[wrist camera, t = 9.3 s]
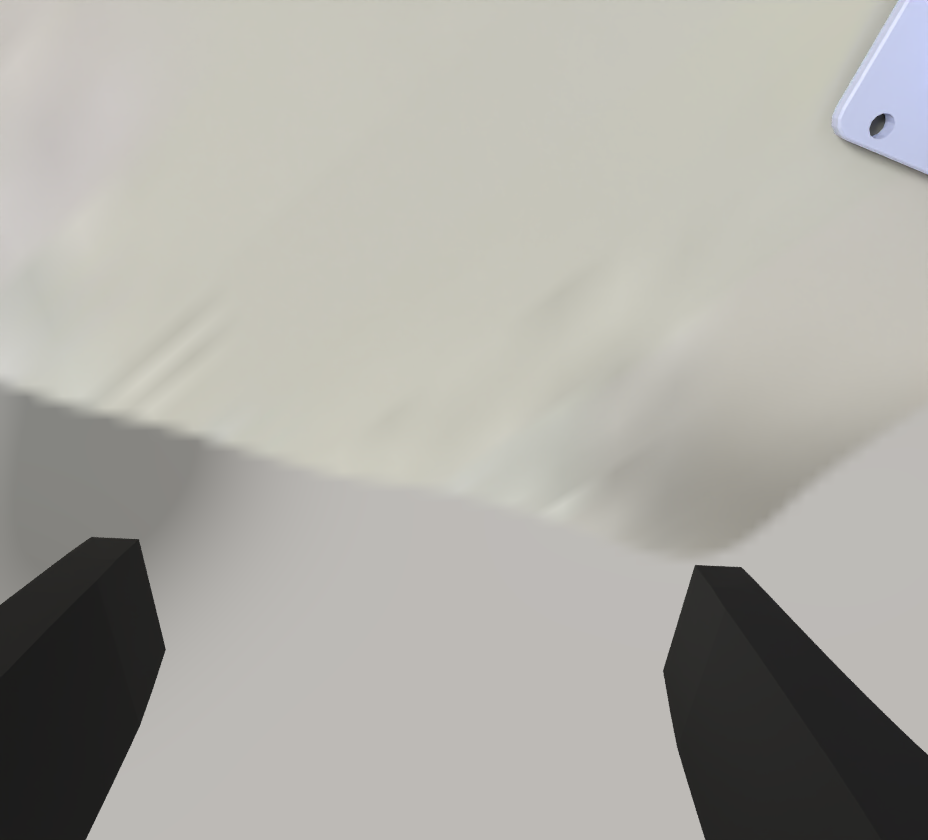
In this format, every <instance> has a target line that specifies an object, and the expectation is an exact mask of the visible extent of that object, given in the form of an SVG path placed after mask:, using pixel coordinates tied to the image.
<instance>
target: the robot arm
mask: <svg viewBox="0 0 928 840" xmlns="http://www.w3.org/2000/svg"><path fill="white" fill-rule="evenodd" d="M880 114H884V115H885V120H886V122H885V124H884V127H883V129H882V130H881V131H880V132H879V133H878V134H876V135H873V136H871V135H870V132H869V127H870V125H871V122H872V121H873V120H874V119H875V117H876V116H878V115H880ZM832 128H833V130H834V132H835V134H836V135H838V136H839V137H840V138H842V139H844V140H847V141H849V142H851V143H854V144H856V145H858V146H861V147H863V148H866V149H868V150H870V151H873V152H875V153H878V154H880V155H882V156H885V157H887V158H889V159H892V160H894V161H897V162H899V163H901V164H904V165H906V166H908V167H911V168H913V169H916V170H918V171H920V172H923V173H925V174H928V0H898V2H897V4H896V5H895V7H894V9H893V10H892V12H891V14H890V16H889V17H888V19H887V21H886V22H885V24H884V26H883V27H882V29H881V31H880V33H879V34H878V36H877V38H876V39H875V41H874V43H873V45H872V46H871V48H870V50H869V51H868V53H867V55H866V57H865V58H864V60H863V62H862V63H861V65H860V67H859V69H858V70H857V72H856V74H855V75H854V77H853V79H852V80H851V82H850V84H849V86H848V87H847V89H846V91H845V92H844V94H843V96H842V98H841V99H840V101H839V103H838V104H837V106H836V108H835V111H834V113H833V116H832ZM165 650H166V649H165V645H164V641H163V637H162V632H161V628H160V624H159V620H158V616H157V613H156V608H155V604H154V600H153V596H152V592H151V588H150V583H149V580H148V576H147V571H146V567H145V563H144V559H143V555H142V551H141V546H140V543H139V539H120V538H98V537H91V538H89V539H88V540H86V541H85V542H84V543H82V544H81V545H79V546H78V547H77V548H75V549H74V550H72V551H71V552H70V553H68V554H67V555H66V556H64V557H63V558H61V559H60V560H59V561H57V562H56V563H55V564H54V565H52V566H51V567H49V568H48V569H47V570H46V571H44V572H43V573H42V574H40V575H39V576H38V577H36V578H35V579H34V580H32V581H31V582H30V583H29V584H27V585H26V586H24V587H23V588H22V589H21V590H19V591H18V592H17V593H15V594H14V595H13V596H11V597H10V598H9V599H7V600H6V601H5V602H3V603H2V604H1V605H0V840H86V838H87V836H88V834H89V832H90V829H91V828H92V825H93V823H94V821H95V819H96V817H97V815H98V813H99V811H100V809H101V807H102V805H103V803H104V801H105V799H106V796H107V794H108V792H109V790H110V788H111V786H112V784H113V782H114V780H115V778H116V775H117V773H118V771H119V769H120V767H121V765H122V763H123V761H124V759H125V757H126V754H127V752H128V750H129V748H130V746H131V744H132V742H133V739H134V737H135V735H136V733H137V731H138V728H139V726H140V724H141V721H142V718H143V715H144V712H145V710H146V707H147V704H148V701H149V698H150V696H151V693H152V689H153V687H154V684H155V680H156V678H157V675H158V671H159V668H160V665H161V662H162V659H163V656H164V653H165ZM663 672H664V678H665V684H666V689H667V696H668V701H669V707H670V713H671V718H672V723H673V728H674V733H675V738H676V743H677V748H678V751H679V755H680V758H681V761H682V765H683V768H684V772H685V775H686V778H687V782H688V785H689V788H690V791H691V795H692V798H693V801H694V805H695V808H696V811H697V814H698V818H699V821H700V824H701V827H702V830H703V834H704V837H705V840H928V755H927V754H926V753H925V752H924V751H923V750H922V749H921V748H920V747H919V746H918V745H916V744H915V743H914V742H913V741H912V740H911V739H910V738H909V737H908V736H907V735H906V734H905V733H904V732H903V731H902V730H901V729H900V728H899V727H898V726H897V725H896V724H895V723H894V722H892V721H891V720H890V719H889V718H888V717H887V716H886V715H885V714H884V713H883V712H882V711H881V710H880V709H879V708H878V707H877V706H876V705H875V704H874V703H873V702H872V701H871V700H870V699H869V698H868V697H867V696H866V695H865V694H864V693H863V692H862V691H861V690H860V689H859V688H858V687H857V686H856V685H855V684H854V683H853V682H852V681H851V680H850V679H849V678H848V677H847V676H846V675H845V674H844V673H843V672H842V671H841V670H840V669H839V668H838V667H837V666H836V665H835V664H834V663H833V662H832V661H831V660H830V659H829V658H828V657H827V656H826V654H825V653H824V652H823V651H822V650H821V649H820V648H819V647H818V646H817V645H816V644H815V643H814V642H813V641H812V640H811V639H810V638H809V637H808V636H807V635H806V634H805V633H804V632H803V631H802V630H801V628H799V626H798V625H797V624H796V623H795V622H794V621H793V620H792V619H791V618H790V617H789V616H788V615H787V614H786V613H785V612H784V611H783V610H782V609H781V608H780V607H779V605H778V604H777V603H776V602H775V601H774V600H773V599H772V598H771V597H770V596H769V595H768V594H767V593H766V592H765V591H764V590H763V589H762V588H761V587H760V586H759V584H757V582H756V581H755V580H754V579H753V578H752V577H751V576H750V575H748V573H747V572H745V570H744V569H742V568H741V567H725V566H703V565H695V567H694V570H693V574H692V577H691V580H690V584H689V587H688V590H687V594H686V597H685V600H684V603H683V607H682V610H681V614H680V617H679V620H678V624H677V627H676V630H675V634H674V637H673V640H672V643H671V647H670V650H669V653H668V657H667V660H666V663H665V666H664V670H663Z"/></svg>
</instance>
